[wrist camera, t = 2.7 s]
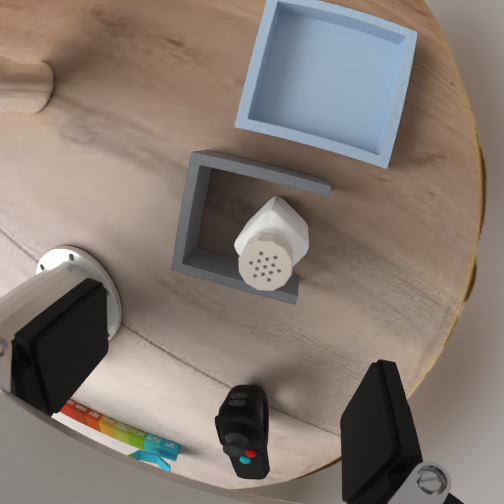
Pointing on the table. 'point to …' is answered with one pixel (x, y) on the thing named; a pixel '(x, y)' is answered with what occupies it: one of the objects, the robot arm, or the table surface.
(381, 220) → the table surface
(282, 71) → the tray
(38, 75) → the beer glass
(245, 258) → the salt shaker
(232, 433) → the controller
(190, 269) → the bay
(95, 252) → the table surface
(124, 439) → the chart
